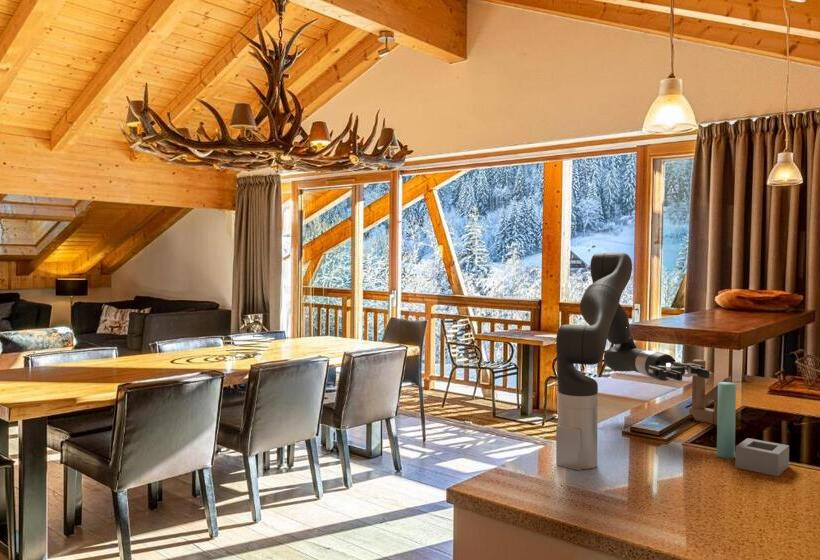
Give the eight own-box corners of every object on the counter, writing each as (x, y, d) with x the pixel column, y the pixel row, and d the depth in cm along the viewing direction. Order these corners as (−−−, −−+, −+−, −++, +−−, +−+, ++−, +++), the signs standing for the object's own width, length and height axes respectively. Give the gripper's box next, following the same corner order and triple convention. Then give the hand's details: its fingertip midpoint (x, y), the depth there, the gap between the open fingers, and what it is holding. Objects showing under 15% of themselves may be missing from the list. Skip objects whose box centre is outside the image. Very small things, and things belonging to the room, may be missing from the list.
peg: (731, 459, 158) (732, 386, 157) (714, 455, 161) (715, 383, 160) (736, 455, 161) (738, 383, 160) (719, 452, 164) (721, 381, 163)
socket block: (778, 476, 146) (778, 454, 146) (735, 467, 152) (735, 446, 152) (788, 466, 153) (789, 445, 152) (747, 458, 159) (747, 438, 159)
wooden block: (725, 426, 187) (726, 364, 186) (688, 419, 195) (689, 360, 194) (731, 424, 189) (732, 363, 189) (694, 417, 197) (695, 358, 197)
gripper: (633, 353, 184) (672, 363, 169) (676, 350, 188) (717, 359, 173) (633, 379, 185) (672, 392, 169) (676, 376, 189) (717, 387, 173)
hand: (695, 375), depth 171 cm, fingers open, 8 cm apart
